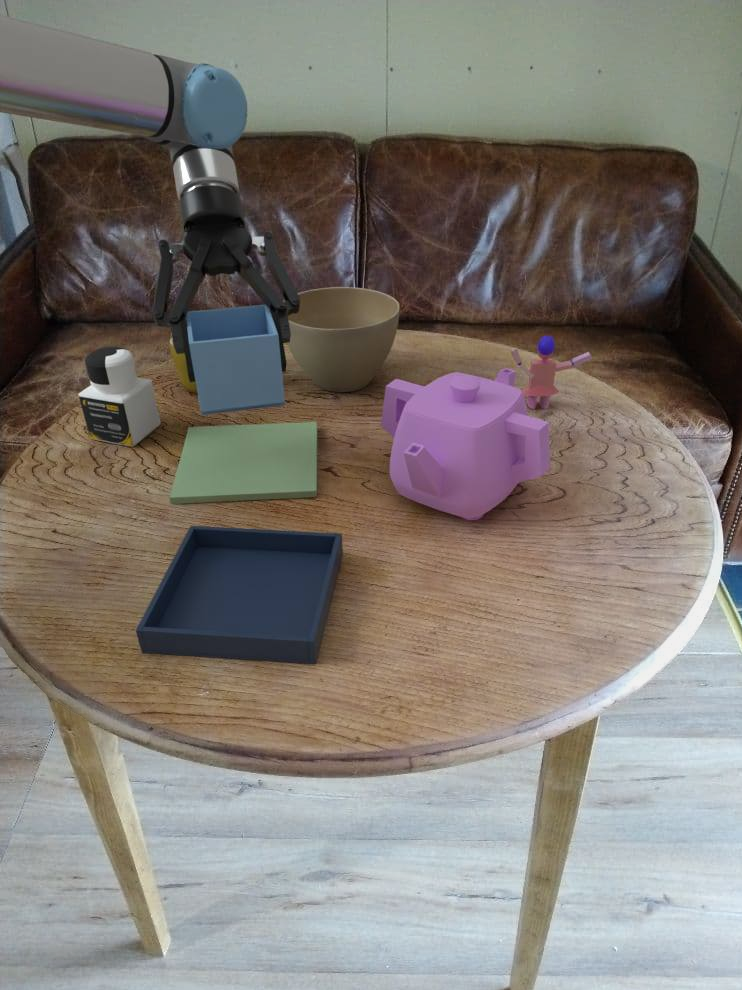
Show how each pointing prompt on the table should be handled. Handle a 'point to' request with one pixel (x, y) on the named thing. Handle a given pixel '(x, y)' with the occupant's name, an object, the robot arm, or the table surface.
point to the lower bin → (244, 595)
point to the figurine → (544, 372)
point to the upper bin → (235, 359)
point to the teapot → (463, 441)
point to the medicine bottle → (117, 399)
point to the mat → (247, 463)
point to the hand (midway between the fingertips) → (238, 372)
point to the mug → (182, 369)
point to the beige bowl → (343, 335)
